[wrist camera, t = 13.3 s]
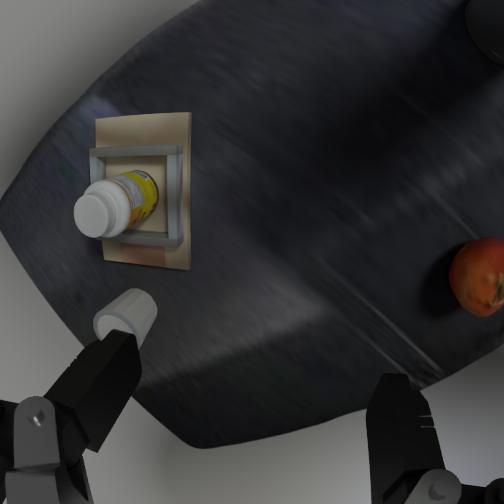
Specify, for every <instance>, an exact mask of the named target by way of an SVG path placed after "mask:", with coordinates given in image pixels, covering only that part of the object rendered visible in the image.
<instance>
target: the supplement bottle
mask: <svg viewBox="0 0 504 504" xmlns="http://www.w3.org/2000/svg"><path fill="white" fill-rule="evenodd" d="M159 198H160V191H159V187H158V184H157V182H156V180H155V179H154V178H153V177H152V176H151V175H150V174H149V173H147V172H145V171H142V170H133V171H129V172H125V173H122V174H119V175H115V176H112V177H109V178H106V179H103V180H100V181H97V182H95V183H93V184H92V185H90V186H89V187H88V188H87V190H86V191H85V193H84V195H83V196H82V197H81V198H79V200H78V201H77V202H76V204H75V208H74V218H75V222H76V225H77V226H78V228H79V230H80V231H81V232H82V233H83V234H85V235H86V236H88V237H92V238H95V237H99V236H102V237H114V236H117V235H118V234H120V233H122V232H123V231H125V230H126V229H128V228H129V227H131V226H133V225H134V224H136V223H137V222H139V221H140V220H142V219H144V218H145V217H147V216H148V215H150V214H151V213H152V212H153V211H154V210H155V209H156V207H157V205H158V203H159Z"/></svg>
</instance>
